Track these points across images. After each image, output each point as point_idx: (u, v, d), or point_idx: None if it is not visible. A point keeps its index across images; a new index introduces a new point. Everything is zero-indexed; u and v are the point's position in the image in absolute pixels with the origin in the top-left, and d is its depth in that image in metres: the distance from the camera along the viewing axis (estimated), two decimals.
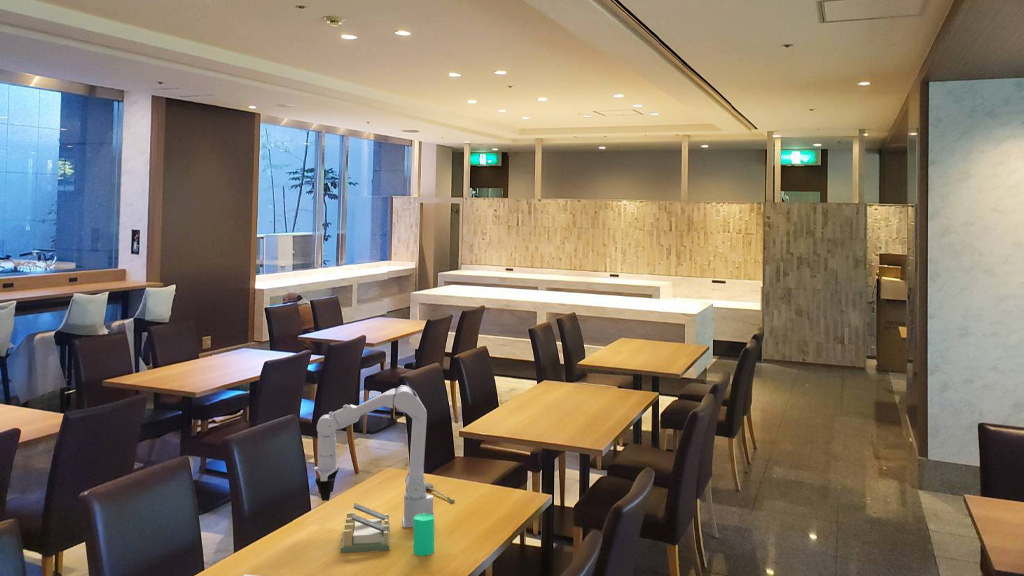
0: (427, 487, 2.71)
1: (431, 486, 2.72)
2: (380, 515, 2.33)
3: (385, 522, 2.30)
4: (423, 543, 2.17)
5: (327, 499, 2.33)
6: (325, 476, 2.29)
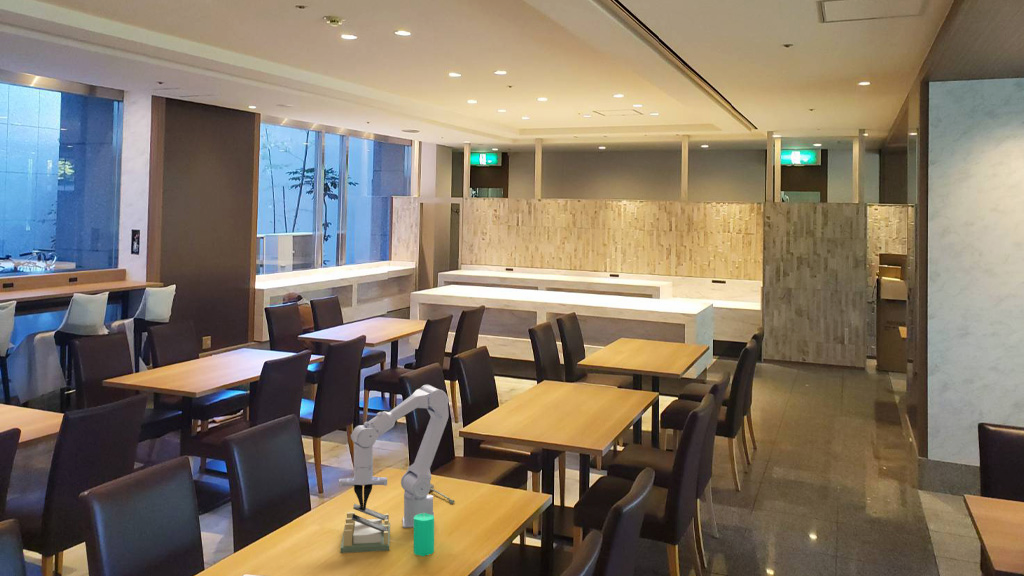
0: None
1: (432, 486, 2.71)
2: (380, 515, 2.33)
3: (385, 522, 2.30)
4: (423, 543, 2.17)
5: (360, 507, 2.31)
6: (339, 482, 2.30)
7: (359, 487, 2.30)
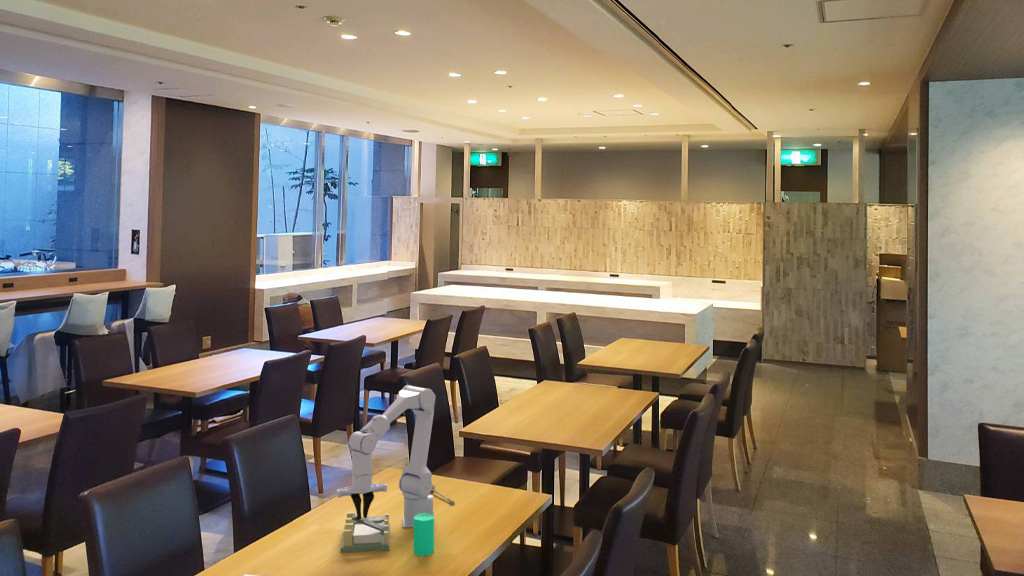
0: None
1: (432, 487, 2.71)
2: (378, 518, 2.33)
3: (385, 522, 2.30)
4: (423, 543, 2.17)
5: (358, 517, 2.22)
6: (337, 492, 2.19)
7: (357, 496, 2.21)
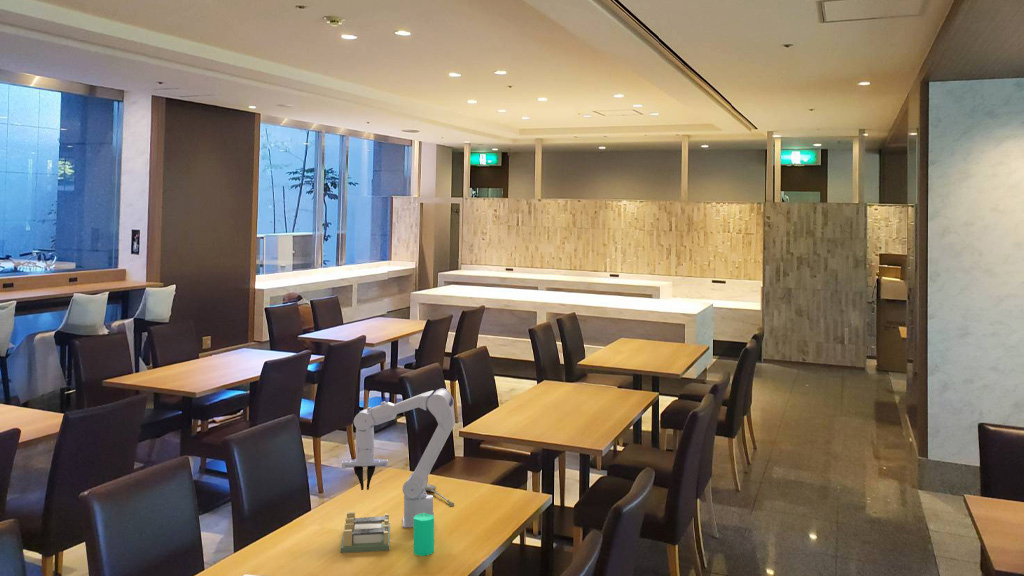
0: (429, 489, 2.69)
1: (433, 488, 2.70)
2: (378, 518, 2.33)
3: (385, 522, 2.30)
4: (423, 543, 2.17)
5: (361, 488, 2.42)
6: None
7: (360, 468, 2.41)
